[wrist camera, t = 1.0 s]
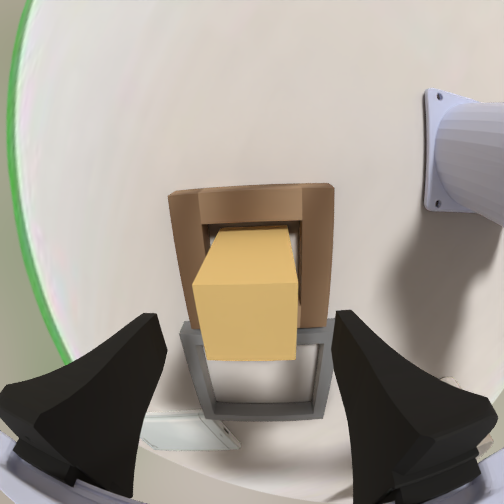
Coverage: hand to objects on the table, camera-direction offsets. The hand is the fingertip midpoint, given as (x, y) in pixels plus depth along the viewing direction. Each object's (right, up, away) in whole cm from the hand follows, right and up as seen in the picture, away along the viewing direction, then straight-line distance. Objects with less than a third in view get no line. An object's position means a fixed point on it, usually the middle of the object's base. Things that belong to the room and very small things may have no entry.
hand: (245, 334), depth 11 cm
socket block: (+1, +3, +7) cm, 7 cm away
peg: (+1, +3, +7) cm, 8 cm away
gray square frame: (+1, -7, +11) cm, 13 cm away
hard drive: (-8, -17, +17) cm, 25 cm away
